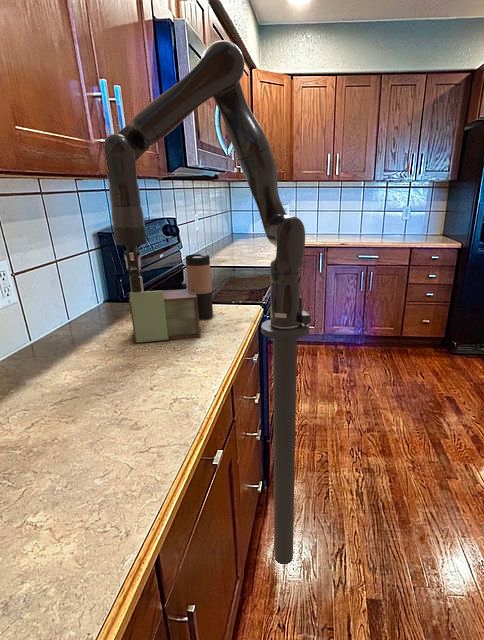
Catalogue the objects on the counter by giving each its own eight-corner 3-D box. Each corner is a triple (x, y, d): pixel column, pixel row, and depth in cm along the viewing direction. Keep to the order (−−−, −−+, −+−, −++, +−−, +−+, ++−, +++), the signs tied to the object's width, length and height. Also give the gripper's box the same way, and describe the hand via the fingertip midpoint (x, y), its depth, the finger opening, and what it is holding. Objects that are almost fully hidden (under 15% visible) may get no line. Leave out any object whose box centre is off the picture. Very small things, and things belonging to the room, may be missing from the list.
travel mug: (192, 320, 136) (187, 258, 129) (188, 314, 143) (183, 254, 135) (215, 318, 139) (212, 257, 131) (211, 312, 146) (207, 253, 138)
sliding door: (168, 337, 120) (161, 275, 113) (168, 340, 119) (161, 276, 111) (136, 340, 118) (127, 277, 111) (136, 343, 116) (127, 278, 109)
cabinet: (196, 326, 131) (193, 288, 127) (200, 336, 123) (197, 296, 118) (135, 331, 126) (130, 292, 122) (135, 343, 118) (129, 301, 113)
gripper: (144, 227, 100) (152, 294, 106) (144, 222, 113) (151, 282, 119) (110, 227, 98) (120, 295, 104) (114, 222, 110) (123, 283, 117)
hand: (137, 288), depth 112 cm, fingers open, 8 cm apart
